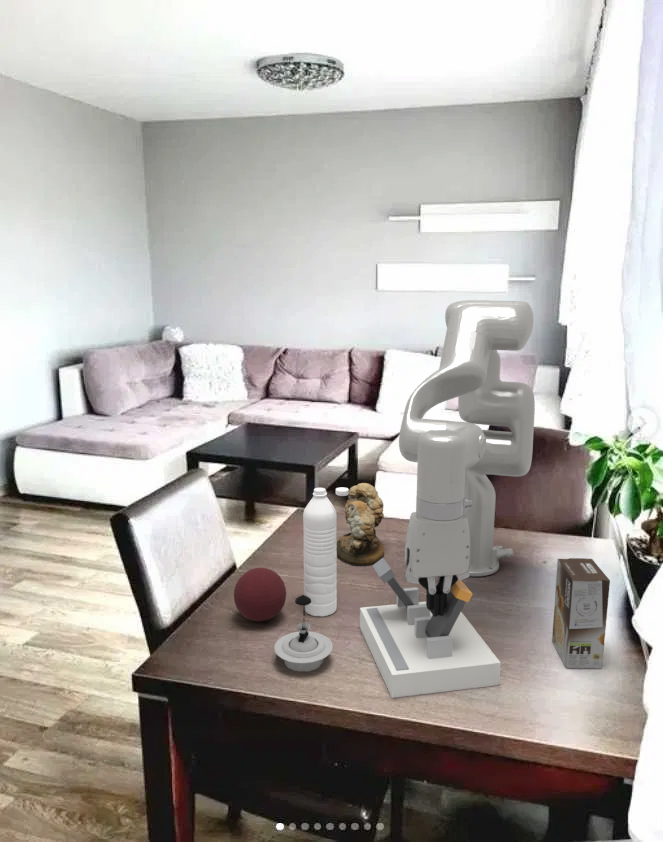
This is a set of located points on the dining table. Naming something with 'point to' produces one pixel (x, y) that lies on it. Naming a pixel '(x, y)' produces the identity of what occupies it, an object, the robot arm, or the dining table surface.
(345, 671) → the dining table surface
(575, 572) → the coffee box
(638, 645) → the dining table surface
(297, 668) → the gray round rimmed fixture
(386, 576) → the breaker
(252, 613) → the decorative ball
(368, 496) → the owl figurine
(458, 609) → the lever
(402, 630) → the box
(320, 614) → the water bottle
